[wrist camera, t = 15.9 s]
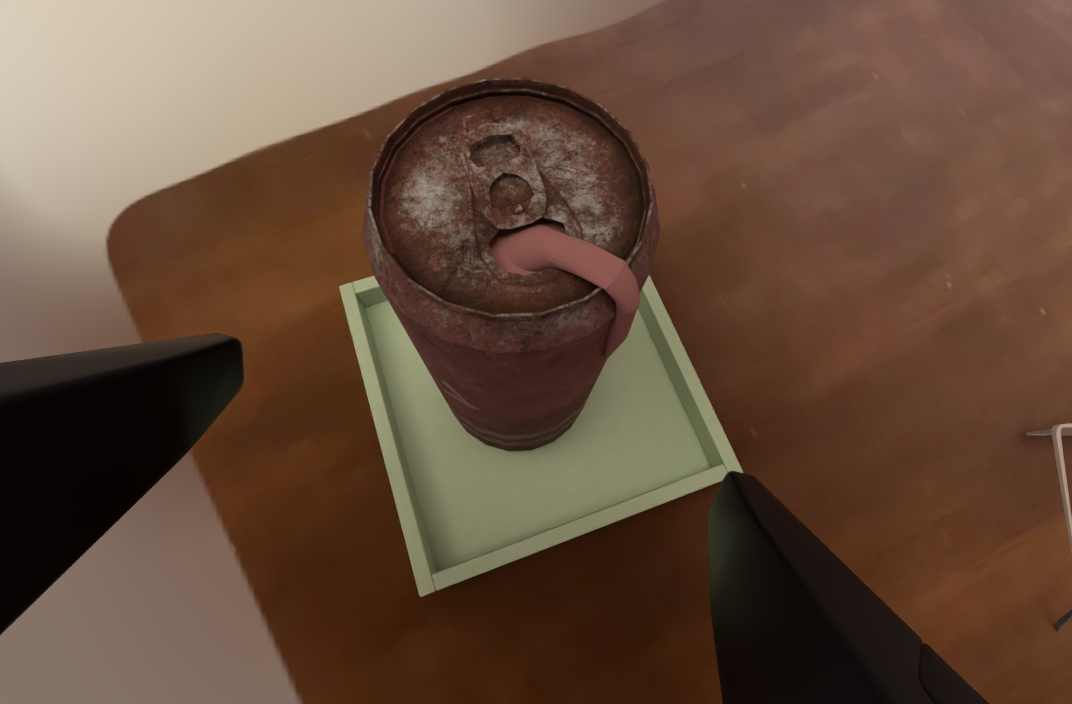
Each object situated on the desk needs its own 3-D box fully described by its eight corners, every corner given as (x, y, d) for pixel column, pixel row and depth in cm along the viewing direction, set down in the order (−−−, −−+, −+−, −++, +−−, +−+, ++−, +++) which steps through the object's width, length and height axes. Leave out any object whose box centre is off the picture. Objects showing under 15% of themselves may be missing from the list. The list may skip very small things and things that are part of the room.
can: (541, 485, 22) (572, 411, 8) (420, 401, 23) (277, 215, 9) (616, 370, 23) (741, 158, 10) (501, 297, 24) (477, 17, 11)
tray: (429, 591, 21) (419, 597, 19) (353, 305, 25) (338, 285, 23) (724, 477, 22) (744, 472, 20) (608, 228, 26) (615, 203, 24)
